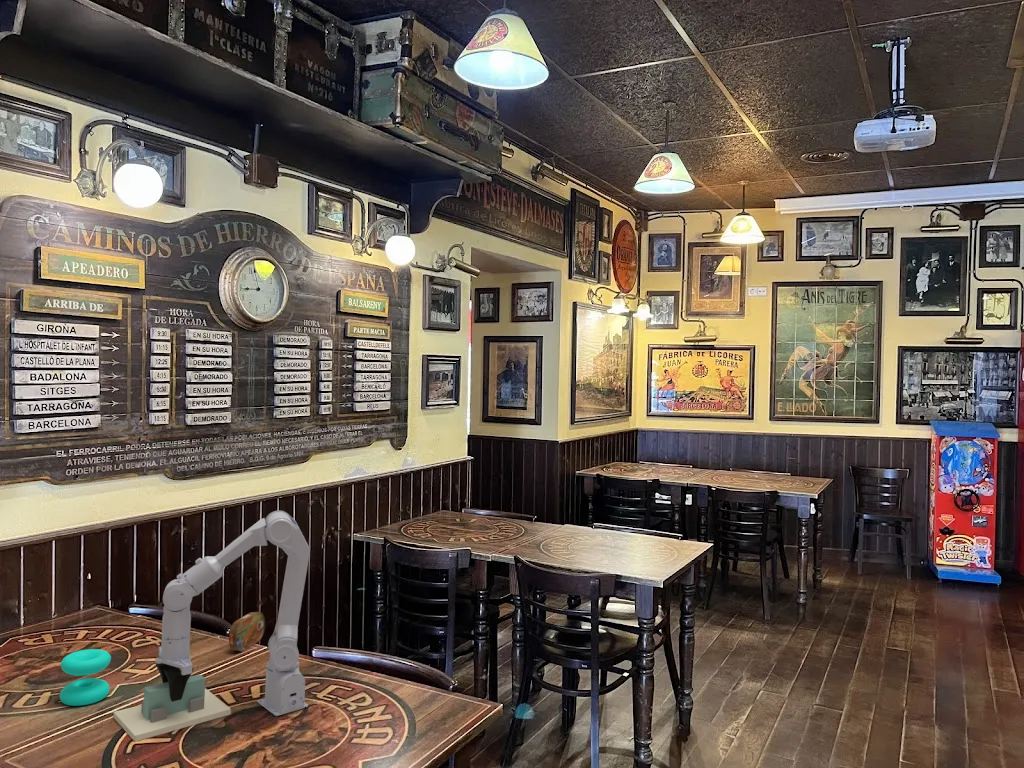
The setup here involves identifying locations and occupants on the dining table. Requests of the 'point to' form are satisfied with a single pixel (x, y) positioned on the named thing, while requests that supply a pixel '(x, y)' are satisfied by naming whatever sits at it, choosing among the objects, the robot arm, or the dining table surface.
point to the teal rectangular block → (161, 697)
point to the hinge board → (170, 717)
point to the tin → (246, 631)
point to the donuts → (89, 687)
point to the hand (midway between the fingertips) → (173, 697)
